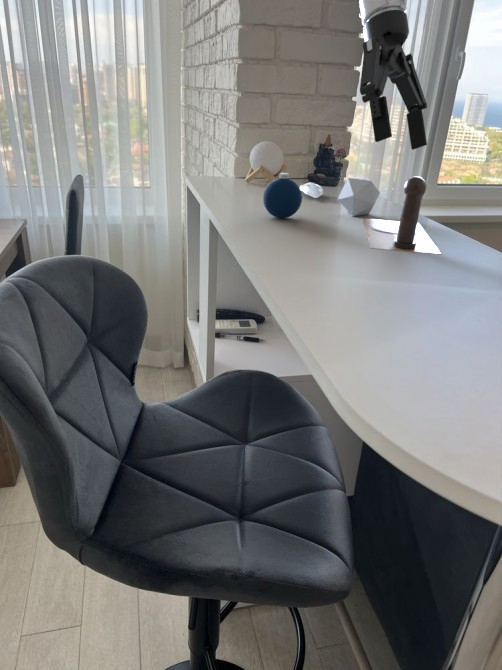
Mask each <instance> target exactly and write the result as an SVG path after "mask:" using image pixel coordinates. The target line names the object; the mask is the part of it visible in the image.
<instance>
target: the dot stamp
mask: <svg viewBox="0 0 502 670" xmlns="http://www.w3.org/2000/svg"><path fill="white" fill-rule="evenodd" d="M427 187H428V186H427V182H426V181H425V179H423V177H422V176H411V177H410V178H408V179H407V180H406V181H405V183H404V186H403V192H404V198H403V203H402V208H401V214H400V220H399V221H400V224H399V230H398V235H397V239H394V242H393V246H394V247H396V248H400V249H406V250H411V249H415V246H416V242H415V241H414V236H415V231H416V226H417V222H419V216H420V210H421V206H422V201H423V196H424V195H425V193H426V191H427Z"/></svg>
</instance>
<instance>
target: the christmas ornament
mask: <svg viewBox="0 0 502 670" xmlns="http://www.w3.org/2000/svg"><path fill="white" fill-rule="evenodd" d="M289 177H290V173H287V172H280V173H279V177H278V178H275V179H273V180H272V181H270V182H269V183H268V184H267V185H266V187H265V189H264V191H263V195H262V202H263V205H264V208H265V210H266V211H267V212H268V213H269V214H270V215H271V216H273V217H275V218H278V219H287V218H289V217H291V216H293V215H295V214H296V213H297V212H298V211H299V209H300V208H301V206H302V202H303V194H302V193H303V192H302V191H301V190H300V186H299V185H298V183H297V182H295V181H294V180H293V179H291V178H289Z"/></svg>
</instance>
